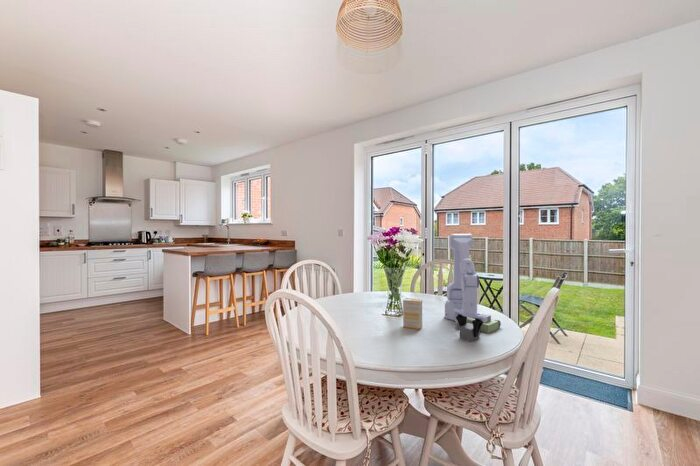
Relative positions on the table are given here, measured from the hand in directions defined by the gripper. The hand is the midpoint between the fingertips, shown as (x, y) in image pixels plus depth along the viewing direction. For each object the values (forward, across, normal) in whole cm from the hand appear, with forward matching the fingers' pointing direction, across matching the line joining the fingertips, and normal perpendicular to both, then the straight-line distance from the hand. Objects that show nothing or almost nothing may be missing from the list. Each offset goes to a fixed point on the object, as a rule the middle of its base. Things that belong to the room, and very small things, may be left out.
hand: (469, 334), depth 130 cm
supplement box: (+2, -24, -8) cm, 25 cm away
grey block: (+1, 0, 0) cm, 1 cm away
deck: (+1, -4, +14) cm, 15 cm away
